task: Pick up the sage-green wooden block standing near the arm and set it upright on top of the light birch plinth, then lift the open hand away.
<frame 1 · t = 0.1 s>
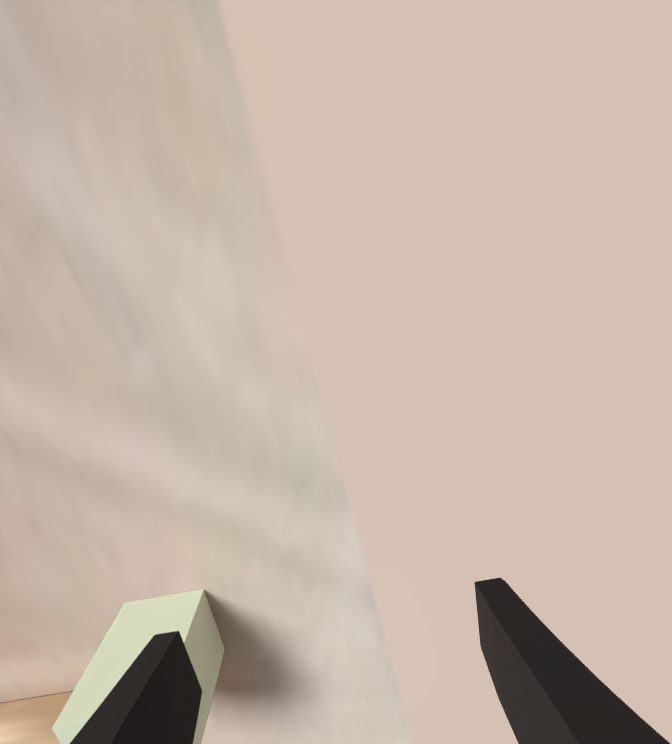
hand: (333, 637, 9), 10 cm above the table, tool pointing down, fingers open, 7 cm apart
sage block: (176, 626, 22), on the table
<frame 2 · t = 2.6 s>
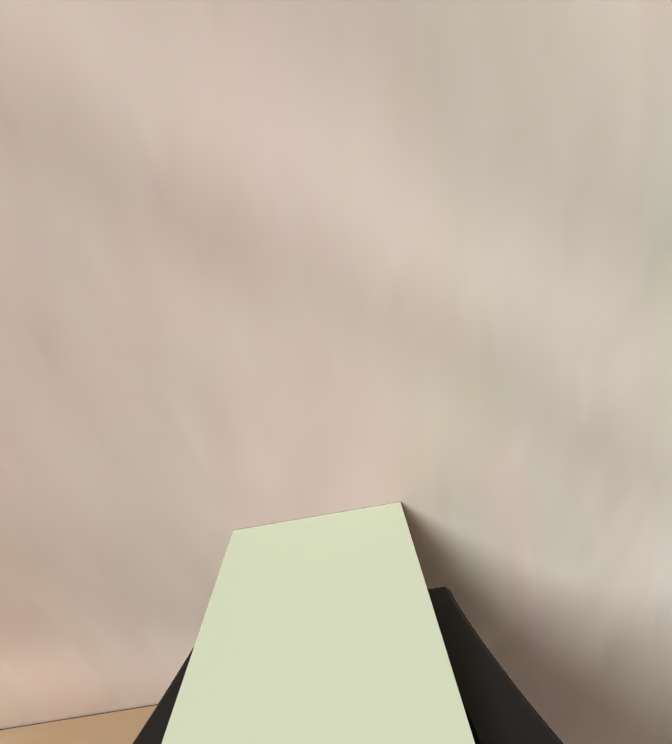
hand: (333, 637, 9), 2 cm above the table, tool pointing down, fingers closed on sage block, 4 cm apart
sage block: (331, 583, 11), on the table, touching gripper
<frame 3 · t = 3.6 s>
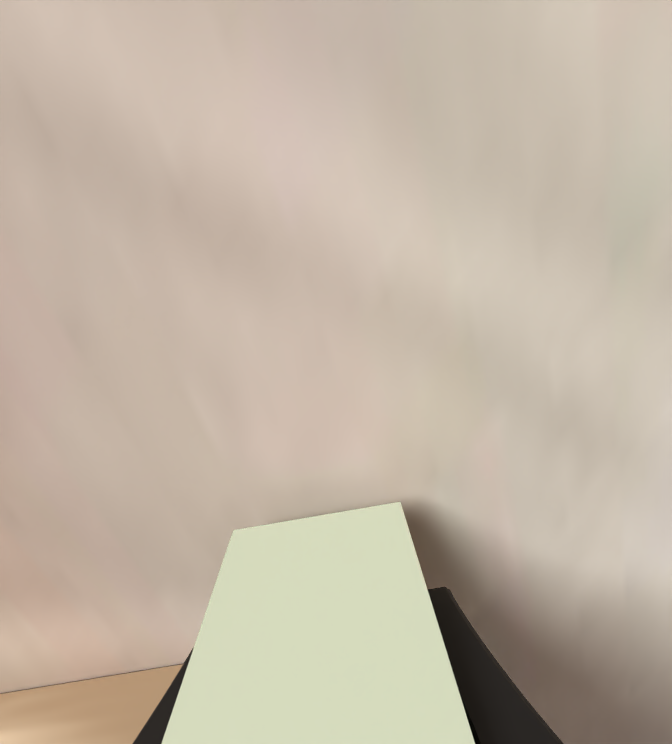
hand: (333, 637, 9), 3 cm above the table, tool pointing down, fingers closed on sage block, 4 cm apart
sage block: (331, 582, 11), point 1 cm above the table, touching gripper
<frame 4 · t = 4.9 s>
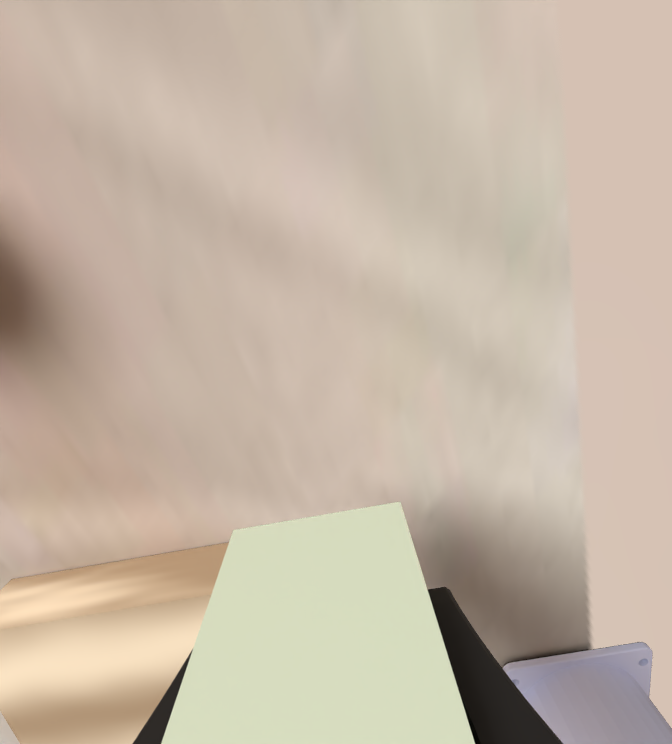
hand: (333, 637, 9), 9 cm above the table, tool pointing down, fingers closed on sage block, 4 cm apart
birch plinth: (167, 650, 20), on the table
sage block: (331, 582, 11), point 7 cm above the table, touching gripper
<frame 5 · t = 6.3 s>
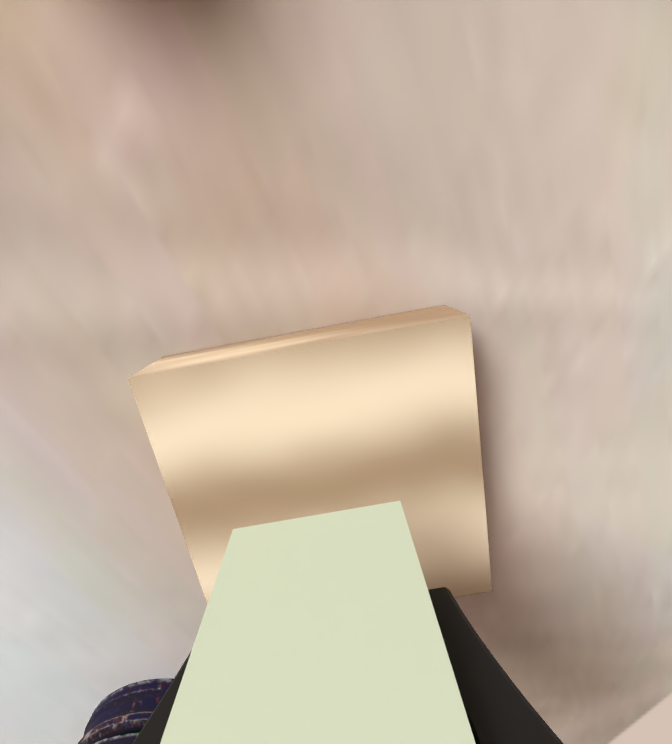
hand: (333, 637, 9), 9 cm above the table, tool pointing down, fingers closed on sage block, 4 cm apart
birch plinth: (328, 457, 18), on the table
sage block: (331, 581, 11), point 7 cm above the table, touching gripper
storage jar: (173, 734, 23), on the table
when the fingers open (6 cm above the table, at t = 7.5 s): sage block stays where it is, resting on birch plinth.
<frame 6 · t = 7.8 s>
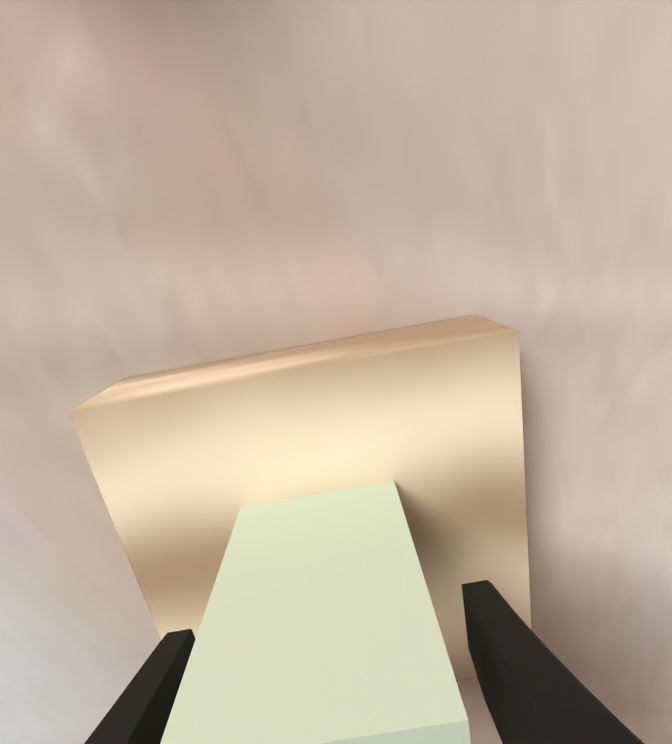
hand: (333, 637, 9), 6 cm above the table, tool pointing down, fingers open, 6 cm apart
birch plinth: (330, 498, 15), on the table
sage block: (331, 556, 12), point 3 cm above the table, touching birch plinth
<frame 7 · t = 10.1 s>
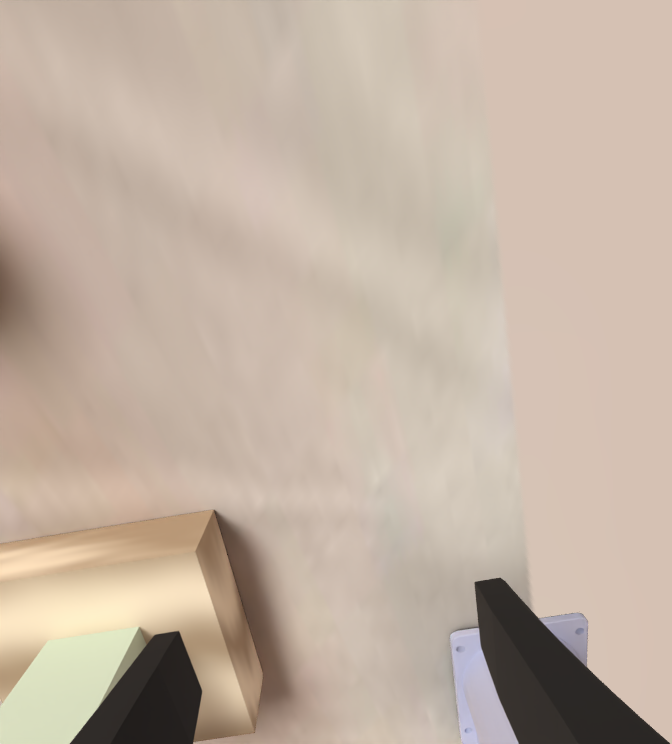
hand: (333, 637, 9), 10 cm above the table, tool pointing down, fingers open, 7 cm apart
birch plinth: (137, 614, 22), on the table
sage block: (109, 667, 19), point 3 cm above the table, touching birch plinth
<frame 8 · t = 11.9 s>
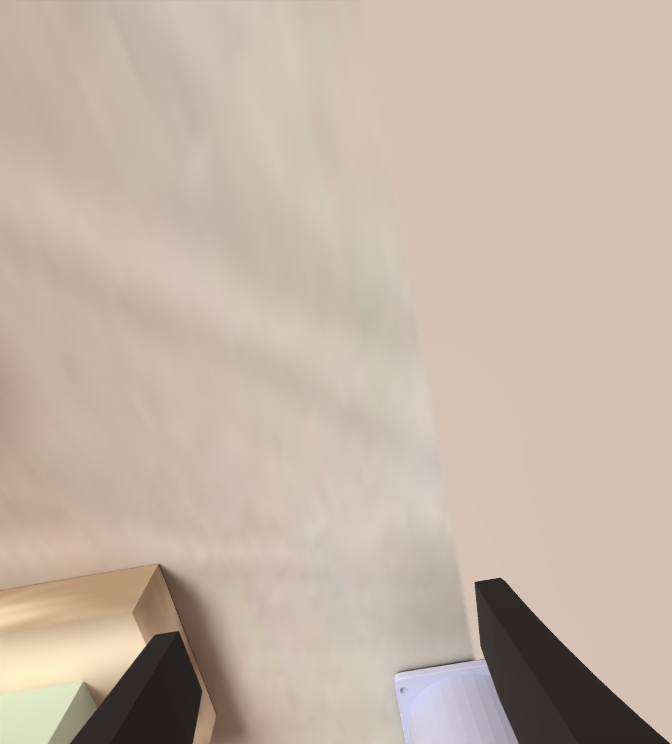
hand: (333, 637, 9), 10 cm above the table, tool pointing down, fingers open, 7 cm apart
birch plinth: (91, 661, 23), on the table
sage block: (57, 718, 20), point 3 cm above the table, touching birch plinth
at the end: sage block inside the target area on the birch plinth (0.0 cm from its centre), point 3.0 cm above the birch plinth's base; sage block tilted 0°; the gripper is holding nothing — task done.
